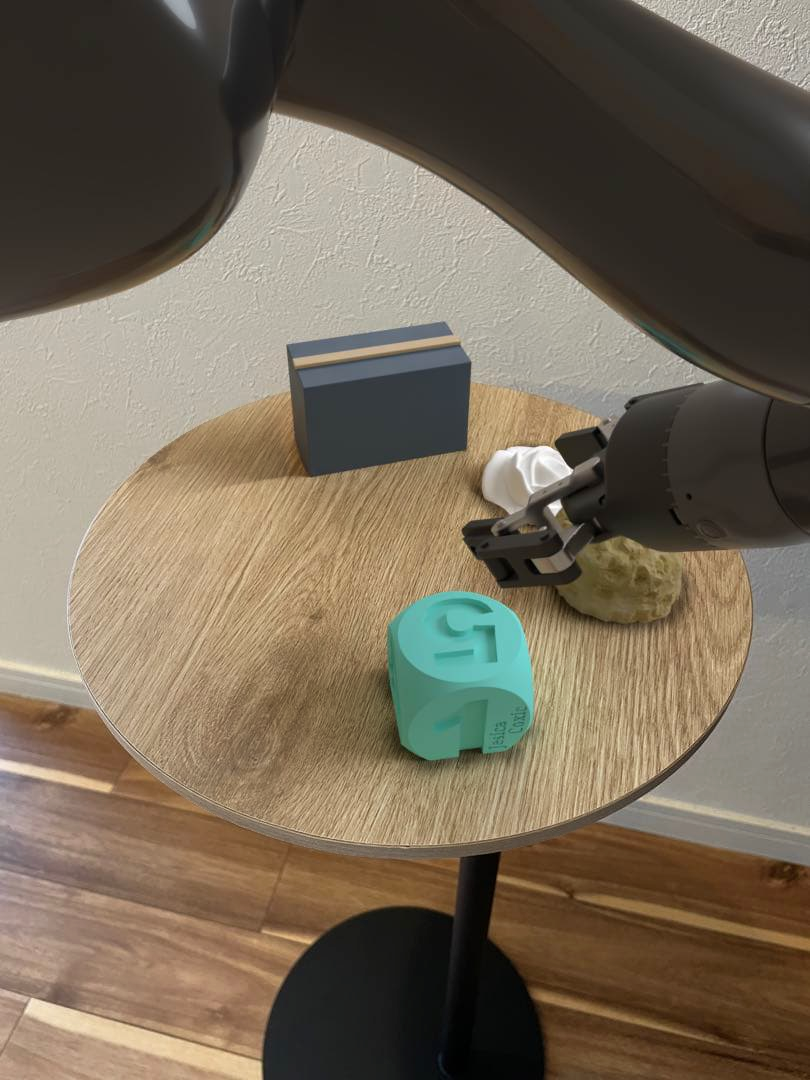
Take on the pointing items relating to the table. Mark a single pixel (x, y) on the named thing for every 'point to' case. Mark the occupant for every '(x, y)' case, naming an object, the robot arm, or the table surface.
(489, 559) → the robot arm
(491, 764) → the table surface
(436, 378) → the box
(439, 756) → the decorative dice
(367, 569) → the table surface
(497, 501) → the rose
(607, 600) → the rock
